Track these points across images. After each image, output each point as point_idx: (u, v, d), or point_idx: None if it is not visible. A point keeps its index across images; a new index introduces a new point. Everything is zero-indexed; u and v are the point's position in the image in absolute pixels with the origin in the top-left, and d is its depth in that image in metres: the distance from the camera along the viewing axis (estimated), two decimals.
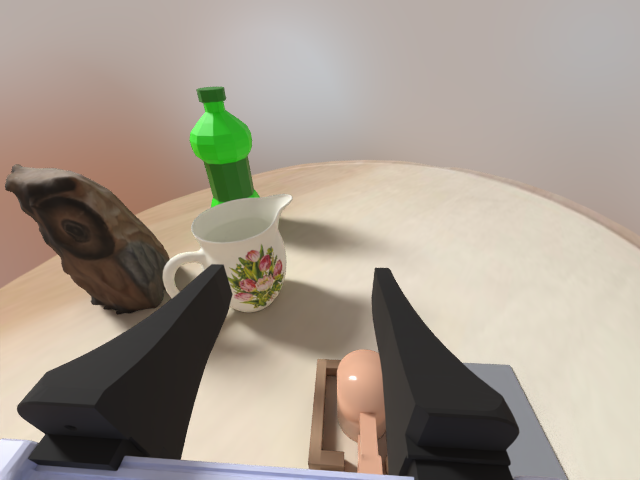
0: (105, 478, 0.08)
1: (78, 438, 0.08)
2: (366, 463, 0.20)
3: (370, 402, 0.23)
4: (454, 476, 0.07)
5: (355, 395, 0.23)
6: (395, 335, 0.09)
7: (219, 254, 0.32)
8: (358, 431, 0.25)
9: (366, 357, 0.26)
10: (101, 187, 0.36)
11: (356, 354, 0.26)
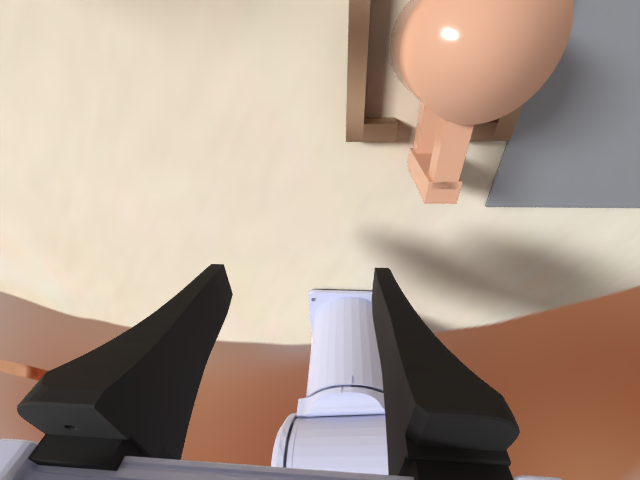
0: (105, 478, 0.08)
1: (78, 438, 0.08)
2: (437, 191, 0.14)
3: (476, 117, 0.11)
4: (454, 476, 0.07)
5: (449, 104, 0.11)
6: (395, 335, 0.09)
7: None
8: None
9: None
10: None
11: None
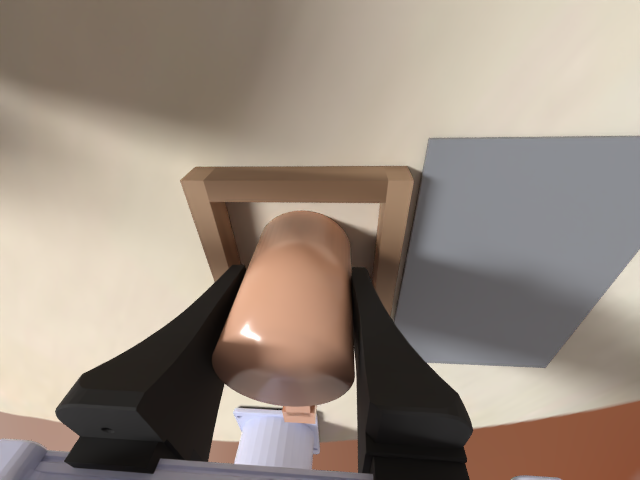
0: (105, 478, 0.08)
1: (113, 441, 0.08)
2: (293, 417, 0.14)
3: (294, 403, 0.11)
4: (410, 473, 0.07)
5: (263, 396, 0.11)
6: (362, 334, 0.09)
7: None
8: None
9: (280, 344, 0.09)
10: None
11: (252, 338, 0.09)
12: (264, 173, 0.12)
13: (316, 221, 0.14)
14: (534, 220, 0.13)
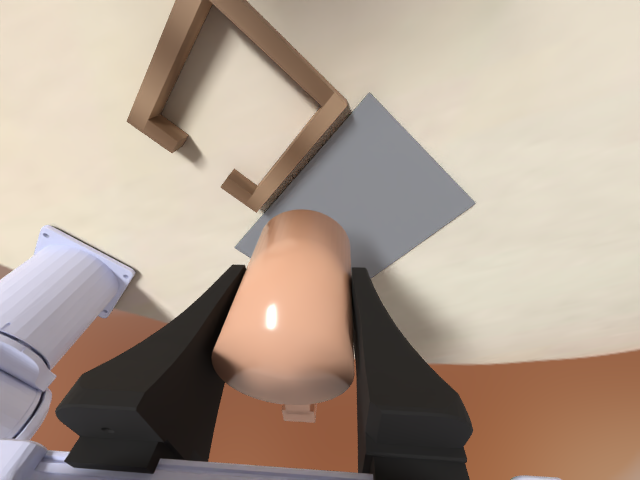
0: (105, 478, 0.08)
1: (113, 441, 0.08)
2: (293, 415, 0.14)
3: (293, 401, 0.11)
4: (410, 473, 0.07)
5: (263, 394, 0.11)
6: (362, 334, 0.09)
7: None
8: None
9: (280, 342, 0.09)
10: None
11: (251, 336, 0.09)
12: (260, 16, 0.15)
13: (316, 220, 0.14)
14: (384, 192, 0.21)
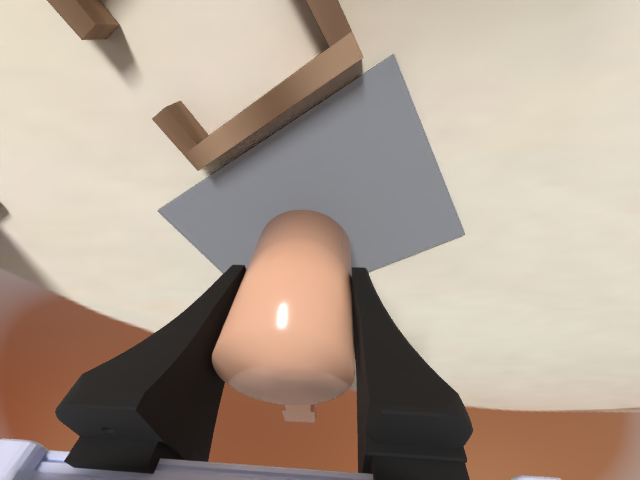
0: (105, 478, 0.08)
1: (113, 440, 0.08)
2: (293, 415, 0.14)
3: (294, 402, 0.11)
4: (410, 473, 0.07)
5: (263, 394, 0.11)
6: (362, 334, 0.09)
7: None
8: None
9: (280, 343, 0.09)
10: None
11: (252, 337, 0.09)
12: None
13: (316, 220, 0.14)
14: (370, 192, 0.16)
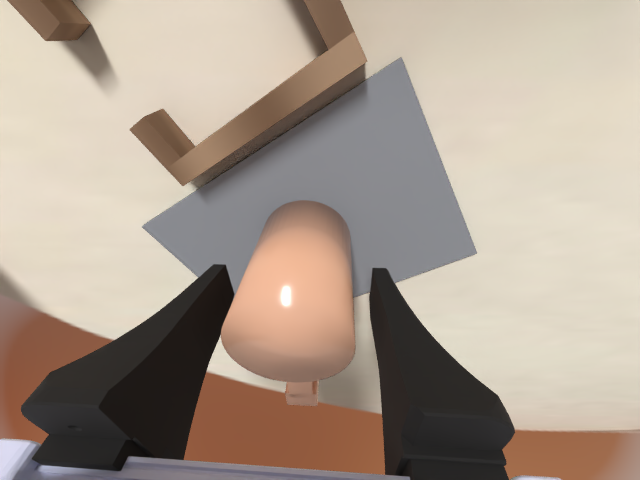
0: (105, 478, 0.08)
1: (82, 438, 0.08)
2: (296, 398, 0.15)
3: (297, 379, 0.12)
4: (450, 476, 0.07)
5: (268, 371, 0.12)
6: (392, 335, 0.09)
7: None
8: None
9: (286, 316, 0.10)
10: None
11: (259, 310, 0.10)
12: None
13: (318, 209, 0.14)
14: (373, 208, 0.15)
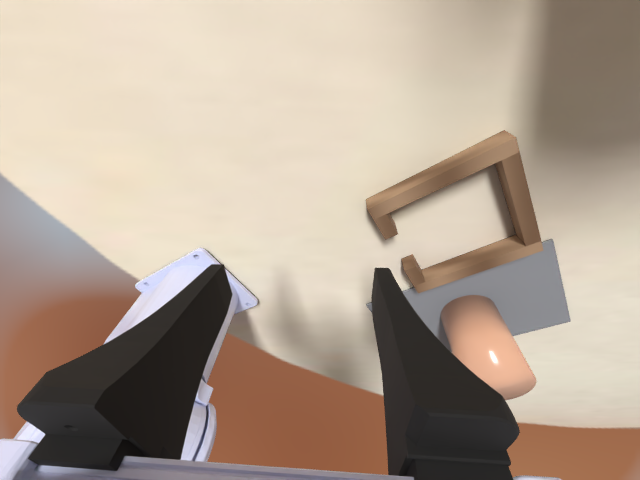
0: (105, 478, 0.08)
1: (78, 438, 0.08)
2: None
3: None
4: (454, 476, 0.07)
5: None
6: (395, 335, 0.09)
7: None
8: None
9: (508, 373, 0.21)
10: None
11: (497, 371, 0.21)
12: None
13: (486, 302, 0.25)
14: (514, 299, 0.26)
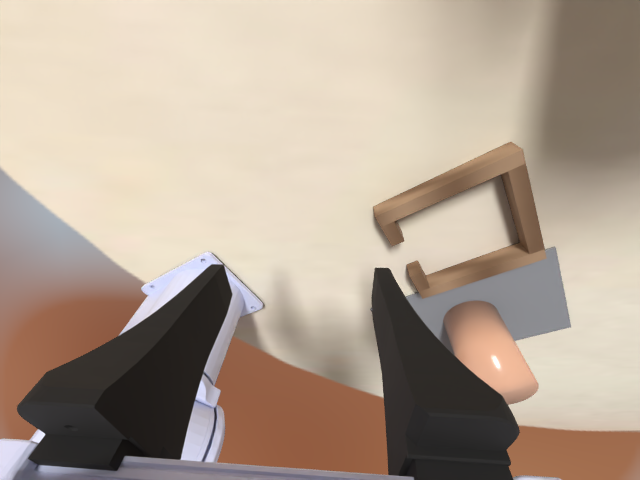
0: (105, 478, 0.08)
1: (78, 438, 0.08)
2: None
3: None
4: (454, 476, 0.07)
5: None
6: (395, 335, 0.09)
7: None
8: None
9: (511, 379, 0.21)
10: None
11: (500, 376, 0.21)
12: None
13: (489, 308, 0.26)
14: (517, 305, 0.27)
